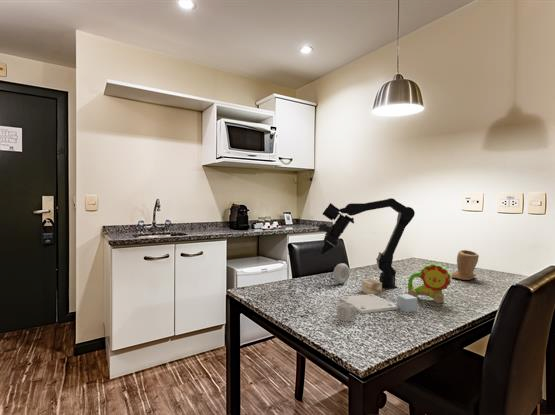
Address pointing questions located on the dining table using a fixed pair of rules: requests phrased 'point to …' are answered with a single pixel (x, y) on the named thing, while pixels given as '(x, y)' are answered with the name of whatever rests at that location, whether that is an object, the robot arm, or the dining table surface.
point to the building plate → (368, 303)
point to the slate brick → (407, 303)
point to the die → (346, 312)
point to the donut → (338, 270)
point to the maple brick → (371, 287)
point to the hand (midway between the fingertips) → (321, 252)
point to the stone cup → (466, 265)
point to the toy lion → (431, 282)
